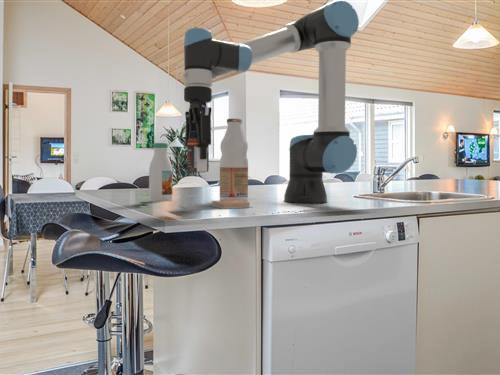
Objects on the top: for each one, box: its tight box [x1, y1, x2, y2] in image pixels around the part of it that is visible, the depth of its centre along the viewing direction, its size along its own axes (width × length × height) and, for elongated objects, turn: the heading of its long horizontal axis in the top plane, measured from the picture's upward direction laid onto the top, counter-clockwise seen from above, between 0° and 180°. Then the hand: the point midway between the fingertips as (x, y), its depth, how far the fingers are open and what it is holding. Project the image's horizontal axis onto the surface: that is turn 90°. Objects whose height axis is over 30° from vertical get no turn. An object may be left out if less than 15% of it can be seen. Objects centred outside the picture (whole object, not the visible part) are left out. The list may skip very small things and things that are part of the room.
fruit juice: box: [219, 118, 249, 202], centre depth 147 cm, size 9×9×28 cm
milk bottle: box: [148, 142, 173, 203], centre depth 149 cm, size 8×8×20 cm
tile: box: [211, 200, 250, 210], centre depth 127 cm, size 8×2×8 cm
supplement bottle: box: [186, 131, 210, 173], centre depth 122 cm, size 6×6×11 cm
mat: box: [178, 204, 254, 211], centre depth 126 cm, size 18×13×1 cm
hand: (197, 171), depth 123 cm, fingers closed on supplement bottle, 6 cm apart
